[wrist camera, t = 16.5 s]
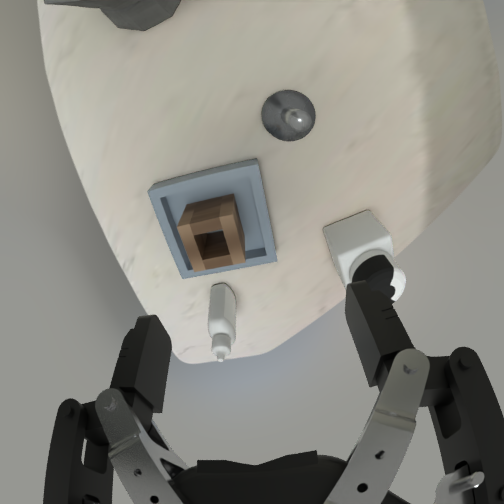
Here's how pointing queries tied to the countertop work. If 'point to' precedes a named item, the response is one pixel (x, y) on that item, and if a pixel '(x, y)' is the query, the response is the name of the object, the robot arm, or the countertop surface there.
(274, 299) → the countertop surface
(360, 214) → the medicine bottle
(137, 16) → the coffeepot
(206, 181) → the tray
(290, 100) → the grey metal coffee tamper
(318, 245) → the countertop surface
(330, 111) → the countertop surface
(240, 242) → the block
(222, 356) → the eye dropper bottle
